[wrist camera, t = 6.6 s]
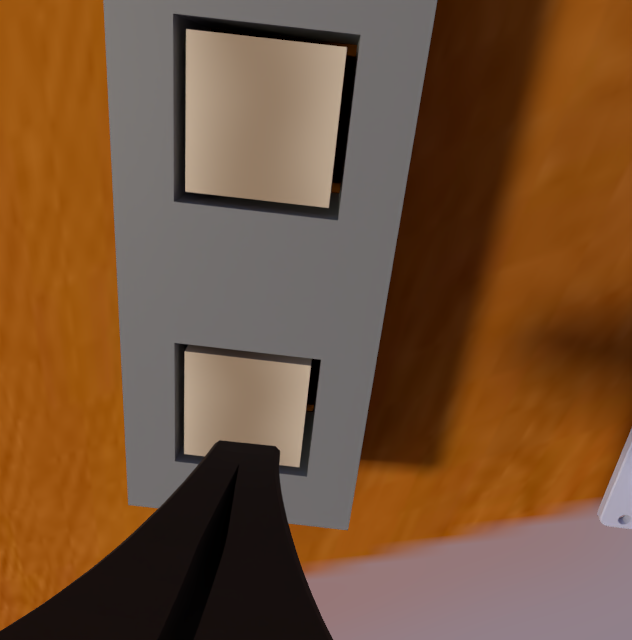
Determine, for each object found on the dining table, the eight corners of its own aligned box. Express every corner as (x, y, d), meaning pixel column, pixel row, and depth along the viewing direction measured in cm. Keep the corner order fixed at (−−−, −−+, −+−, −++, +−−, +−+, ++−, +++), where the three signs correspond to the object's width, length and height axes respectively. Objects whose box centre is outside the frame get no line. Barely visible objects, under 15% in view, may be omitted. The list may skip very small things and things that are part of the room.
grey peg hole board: (424, -32, 16) (448, -66, 12) (347, 459, 23) (347, 530, 20) (155, -63, 16) (98, -106, 12) (162, 438, 23) (128, 504, 20)
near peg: (346, 54, 17) (346, 46, 13) (331, 185, 18) (329, 208, 15) (217, 39, 17) (186, 28, 13) (214, 172, 18) (185, 191, 15)
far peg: (316, 319, 20) (310, 365, 17) (306, 409, 22) (299, 467, 19) (210, 307, 20) (184, 351, 17) (208, 398, 22) (183, 454, 19)
